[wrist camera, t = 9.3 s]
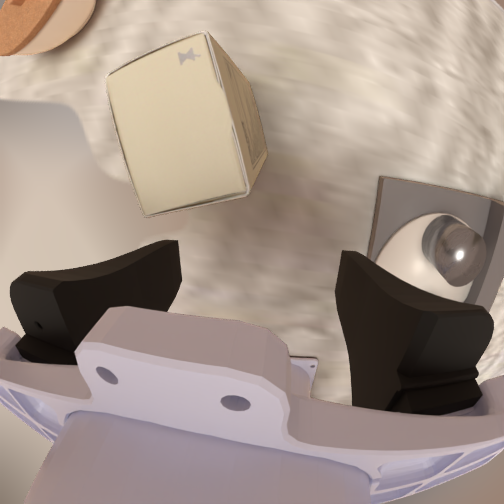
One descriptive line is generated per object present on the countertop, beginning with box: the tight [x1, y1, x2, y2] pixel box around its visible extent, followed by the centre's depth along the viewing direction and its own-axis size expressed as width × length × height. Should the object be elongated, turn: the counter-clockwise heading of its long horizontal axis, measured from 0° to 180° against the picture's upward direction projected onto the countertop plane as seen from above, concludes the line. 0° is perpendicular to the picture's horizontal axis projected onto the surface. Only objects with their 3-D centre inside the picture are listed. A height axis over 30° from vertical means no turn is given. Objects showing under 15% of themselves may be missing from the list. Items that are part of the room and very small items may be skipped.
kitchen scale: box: [367, 176, 504, 313], centre depth 20 cm, size 16×15×3 cm
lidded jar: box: [0, 0, 96, 56], centre depth 10 cm, size 11×11×9 cm
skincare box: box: [105, 31, 268, 218], centre depth 13 cm, size 6×4×12 cm
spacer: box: [422, 215, 486, 287], centre depth 17 cm, size 4×4×4 cm
